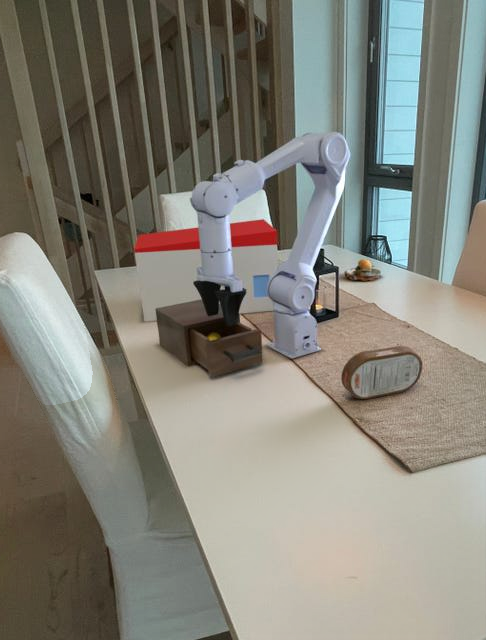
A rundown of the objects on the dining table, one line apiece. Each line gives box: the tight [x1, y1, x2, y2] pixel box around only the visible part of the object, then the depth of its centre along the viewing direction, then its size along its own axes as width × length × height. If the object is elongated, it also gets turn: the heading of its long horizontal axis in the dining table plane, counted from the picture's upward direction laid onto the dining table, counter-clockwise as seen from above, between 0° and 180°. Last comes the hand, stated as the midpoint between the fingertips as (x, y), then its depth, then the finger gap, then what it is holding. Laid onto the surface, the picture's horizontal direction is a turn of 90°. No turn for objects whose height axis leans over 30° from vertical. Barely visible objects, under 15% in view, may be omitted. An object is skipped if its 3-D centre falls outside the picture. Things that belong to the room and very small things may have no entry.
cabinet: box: [155, 299, 241, 367], centre depth 110 cm, size 15×13×9 cm
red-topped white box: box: [133, 218, 279, 323], centre depth 138 cm, size 21×35×21 cm, turn 104°
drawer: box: [188, 321, 264, 378], centre depth 101 cm, size 18×11×7 cm, turn 37°
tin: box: [340, 345, 423, 400], centre depth 89 cm, size 15×3×8 cm, turn 111°
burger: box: [343, 256, 382, 282], centre depth 166 cm, size 12×12×8 cm
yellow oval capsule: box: [206, 332, 221, 341], centre depth 104 cm, size 9×3×3 cm
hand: (221, 319), depth 100 cm, fingers open, 7 cm apart
